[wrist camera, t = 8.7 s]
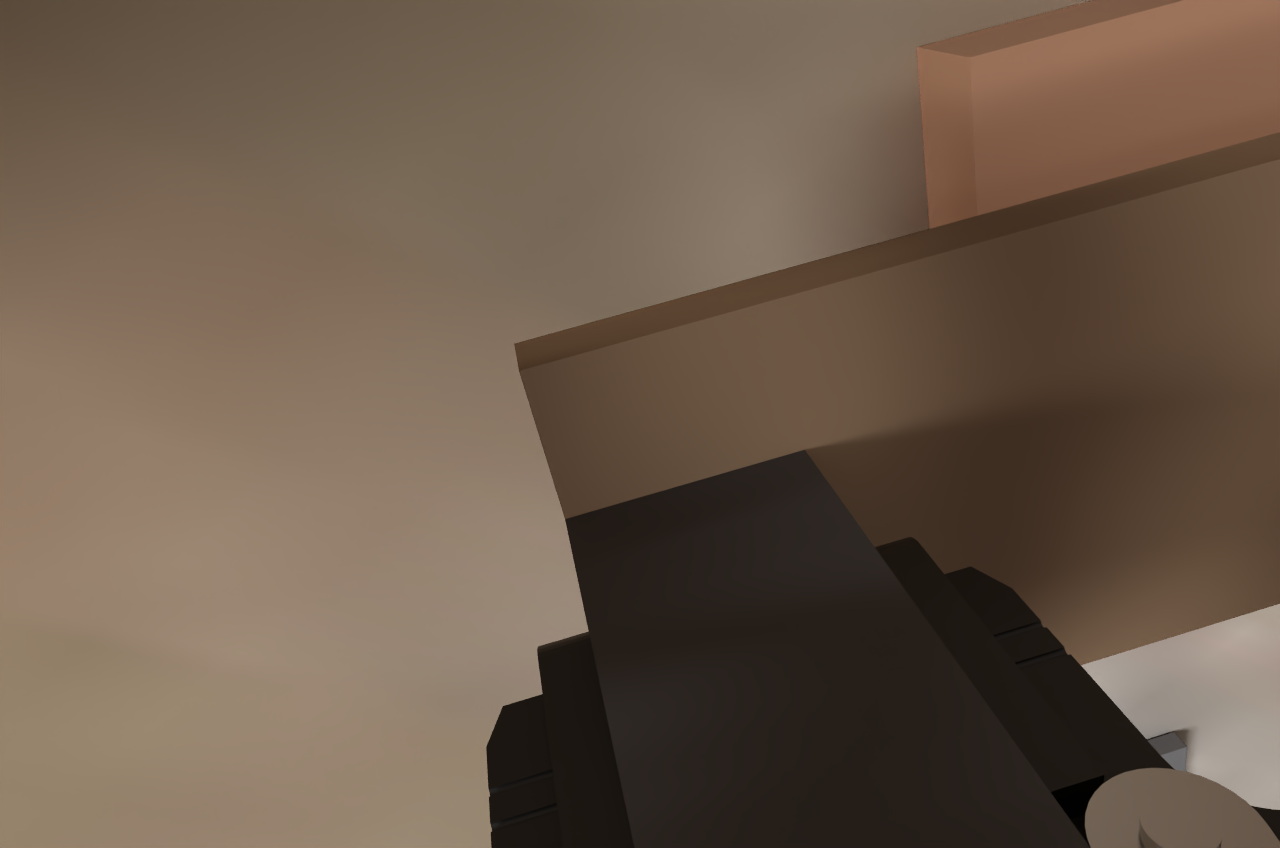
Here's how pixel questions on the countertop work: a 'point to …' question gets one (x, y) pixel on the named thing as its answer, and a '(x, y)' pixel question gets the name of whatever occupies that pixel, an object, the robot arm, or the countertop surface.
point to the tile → (1092, 97)
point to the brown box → (915, 497)
